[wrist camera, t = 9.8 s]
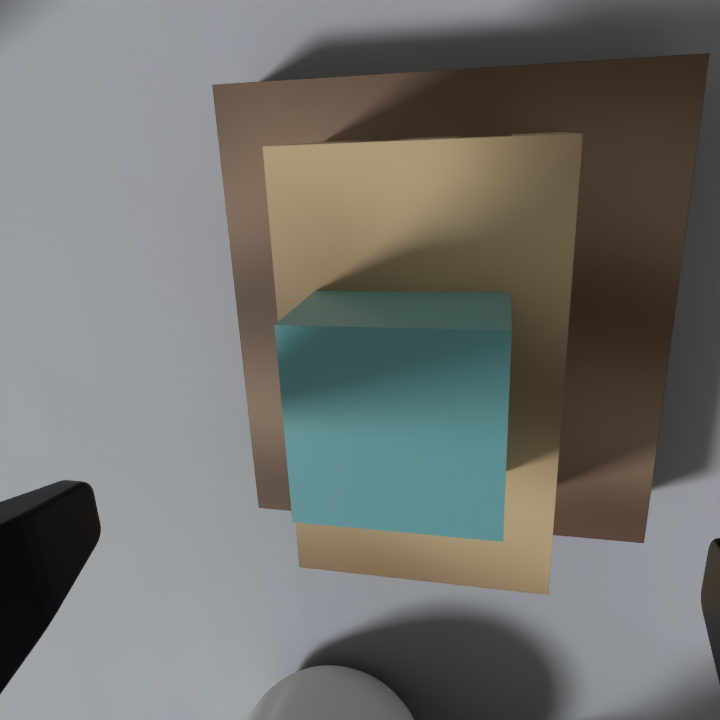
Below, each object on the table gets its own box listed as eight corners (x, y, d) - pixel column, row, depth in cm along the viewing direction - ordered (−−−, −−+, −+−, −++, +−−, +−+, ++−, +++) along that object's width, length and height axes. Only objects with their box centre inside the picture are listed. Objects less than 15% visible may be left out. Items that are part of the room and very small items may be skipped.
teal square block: (503, 472, 14) (503, 541, 11) (326, 459, 15) (292, 522, 12) (510, 292, 12) (511, 330, 10) (315, 290, 13) (273, 324, 11)
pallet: (539, 491, 19) (548, 594, 14) (342, 475, 20) (299, 567, 16) (562, 131, 15) (582, 133, 11) (323, 141, 16) (262, 146, 12)
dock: (628, 497, 21) (643, 543, 18) (283, 470, 23) (258, 507, 21) (680, 63, 16) (709, 53, 14) (248, 89, 19) (212, 84, 17)
